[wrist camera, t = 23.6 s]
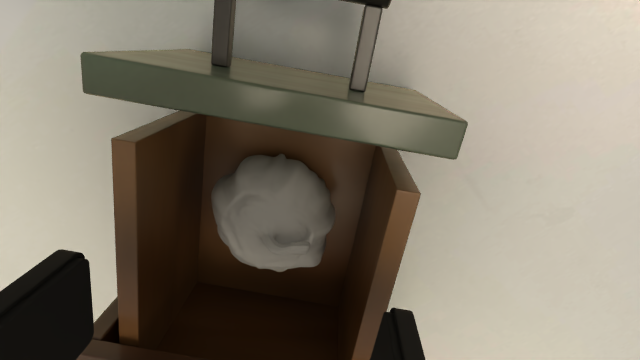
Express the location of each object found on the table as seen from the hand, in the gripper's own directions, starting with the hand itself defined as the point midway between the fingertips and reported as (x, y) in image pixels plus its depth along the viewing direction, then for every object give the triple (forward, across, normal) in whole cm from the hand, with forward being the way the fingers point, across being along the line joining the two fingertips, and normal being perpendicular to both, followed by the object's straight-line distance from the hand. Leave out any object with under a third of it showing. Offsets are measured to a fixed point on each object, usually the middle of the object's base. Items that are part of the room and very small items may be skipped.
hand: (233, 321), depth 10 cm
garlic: (+9, 0, 0) cm, 9 cm away
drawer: (+10, 0, -2) cm, 10 cm away
